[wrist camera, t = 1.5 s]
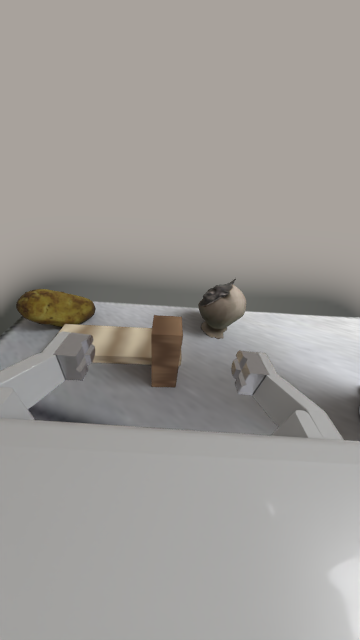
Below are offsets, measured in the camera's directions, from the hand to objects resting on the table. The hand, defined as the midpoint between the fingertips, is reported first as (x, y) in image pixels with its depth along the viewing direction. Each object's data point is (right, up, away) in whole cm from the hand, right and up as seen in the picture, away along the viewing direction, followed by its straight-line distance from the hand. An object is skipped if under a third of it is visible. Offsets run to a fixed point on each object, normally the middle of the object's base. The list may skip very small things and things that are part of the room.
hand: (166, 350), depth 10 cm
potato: (-25, +1, +30) cm, 39 cm away
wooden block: (-2, -6, +24) cm, 25 cm away
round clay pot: (+9, 0, +34) cm, 35 cm away
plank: (-11, -4, +26) cm, 28 cm away
